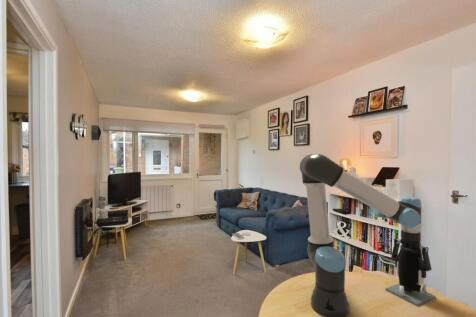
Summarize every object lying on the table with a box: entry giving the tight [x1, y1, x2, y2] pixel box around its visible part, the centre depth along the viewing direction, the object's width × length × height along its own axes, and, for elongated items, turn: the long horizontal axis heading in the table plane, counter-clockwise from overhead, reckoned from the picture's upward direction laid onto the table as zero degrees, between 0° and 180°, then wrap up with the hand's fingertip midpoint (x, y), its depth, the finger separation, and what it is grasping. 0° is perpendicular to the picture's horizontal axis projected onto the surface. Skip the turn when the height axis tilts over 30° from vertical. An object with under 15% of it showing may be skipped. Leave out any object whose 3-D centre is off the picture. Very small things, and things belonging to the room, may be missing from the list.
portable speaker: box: [397, 244, 423, 292], centre depth 115 cm, size 9×9×20 cm
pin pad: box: [385, 282, 437, 307], centre depth 115 cm, size 14×14×5 cm
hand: (409, 279), depth 115 cm, fingers closed on portable speaker, 9 cm apart
